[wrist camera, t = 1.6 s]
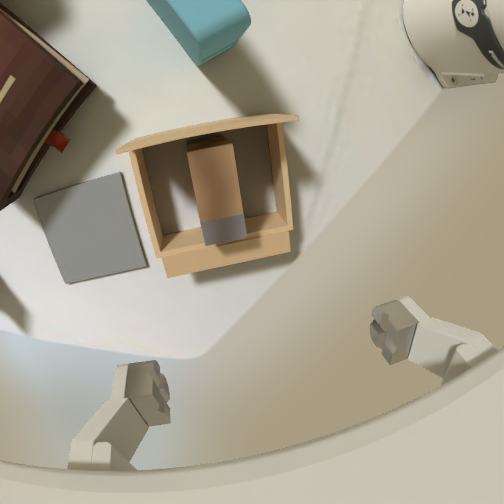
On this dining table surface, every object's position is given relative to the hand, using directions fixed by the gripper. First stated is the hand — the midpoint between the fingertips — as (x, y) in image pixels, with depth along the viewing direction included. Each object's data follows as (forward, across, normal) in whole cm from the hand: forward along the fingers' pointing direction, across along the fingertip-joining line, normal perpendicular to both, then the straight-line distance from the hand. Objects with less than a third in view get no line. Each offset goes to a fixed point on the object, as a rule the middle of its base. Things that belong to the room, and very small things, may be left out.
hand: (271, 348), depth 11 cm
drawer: (+27, 0, +1) cm, 27 cm away
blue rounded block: (+27, 0, -19) cm, 33 cm away
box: (+27, 0, 0) cm, 27 cm away
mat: (+27, +16, +3) cm, 32 cm away
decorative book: (+28, +25, -19) cm, 42 cm away
